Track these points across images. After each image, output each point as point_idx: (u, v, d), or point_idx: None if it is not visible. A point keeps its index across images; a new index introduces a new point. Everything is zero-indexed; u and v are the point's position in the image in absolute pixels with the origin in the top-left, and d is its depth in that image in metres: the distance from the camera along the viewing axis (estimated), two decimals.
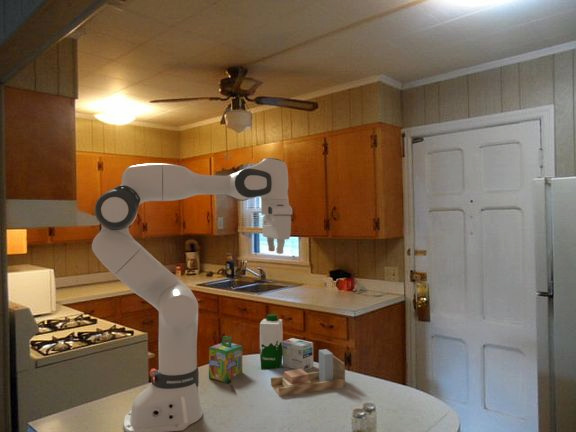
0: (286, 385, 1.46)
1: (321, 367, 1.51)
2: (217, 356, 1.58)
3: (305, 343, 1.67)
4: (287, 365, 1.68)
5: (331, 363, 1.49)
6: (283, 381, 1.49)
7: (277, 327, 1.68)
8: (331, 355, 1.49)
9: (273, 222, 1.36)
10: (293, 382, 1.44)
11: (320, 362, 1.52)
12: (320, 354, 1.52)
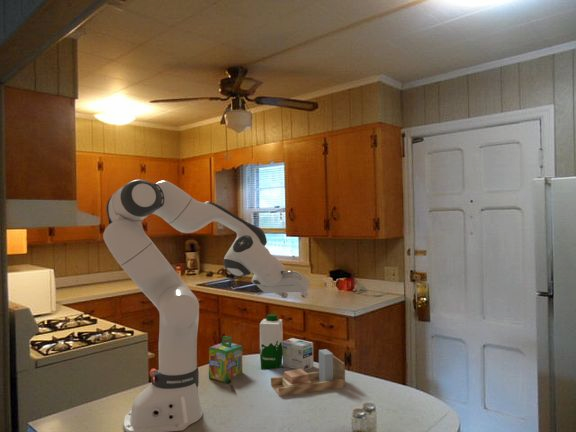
0: (286, 385, 1.46)
1: (321, 367, 1.51)
2: (216, 356, 1.58)
3: (305, 343, 1.67)
4: (287, 365, 1.68)
5: (331, 363, 1.49)
6: (283, 381, 1.49)
7: (277, 327, 1.68)
8: (331, 355, 1.49)
9: None
10: (293, 382, 1.44)
11: (320, 362, 1.52)
12: (320, 354, 1.52)
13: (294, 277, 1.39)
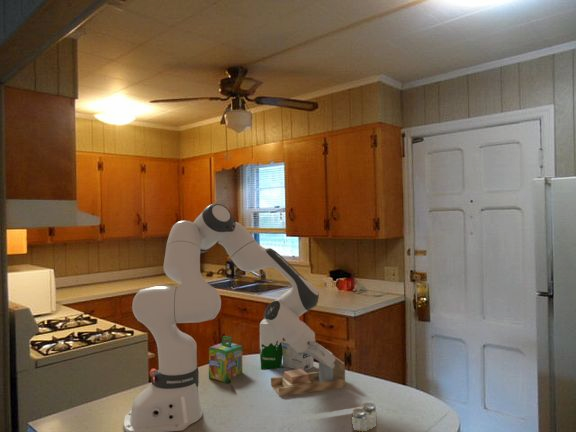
0: (286, 385, 1.46)
1: (321, 367, 1.51)
2: (216, 356, 1.58)
3: None
4: (287, 365, 1.68)
5: None
6: (283, 381, 1.49)
7: None
8: None
9: None
10: (293, 382, 1.44)
11: (320, 362, 1.52)
12: None
13: (317, 352, 1.40)
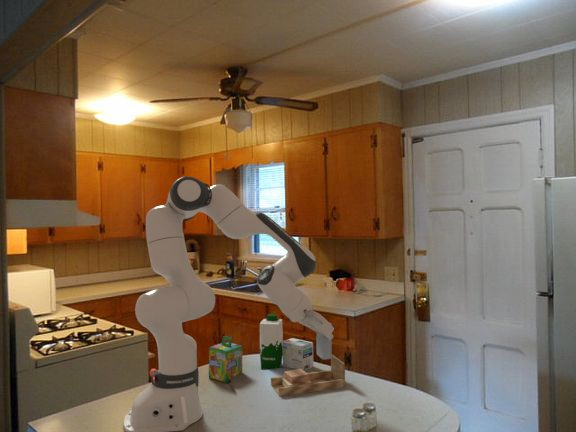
0: (286, 385, 1.46)
1: (319, 339, 1.40)
2: (217, 356, 1.58)
3: (305, 343, 1.67)
4: (287, 365, 1.68)
5: None
6: (283, 381, 1.49)
7: (277, 327, 1.68)
8: None
9: None
10: (293, 382, 1.44)
11: (318, 333, 1.41)
12: None
13: (314, 320, 1.29)
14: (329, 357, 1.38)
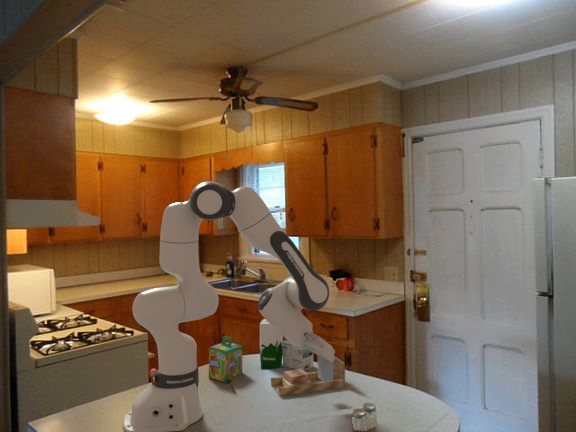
0: (286, 385, 1.46)
1: (320, 361, 1.38)
2: (216, 356, 1.58)
3: None
4: (287, 365, 1.68)
5: None
6: (283, 381, 1.49)
7: None
8: None
9: None
10: (293, 382, 1.44)
11: (319, 356, 1.39)
12: None
13: (315, 344, 1.27)
14: (331, 380, 1.36)
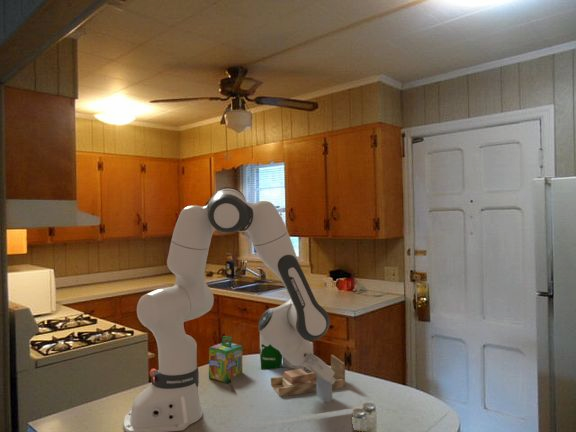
0: (286, 385, 1.46)
1: (319, 384, 1.39)
2: (217, 356, 1.58)
3: None
4: (287, 365, 1.68)
5: None
6: (283, 381, 1.49)
7: None
8: None
9: None
10: (293, 382, 1.44)
11: (318, 379, 1.40)
12: None
13: (314, 365, 1.28)
14: None
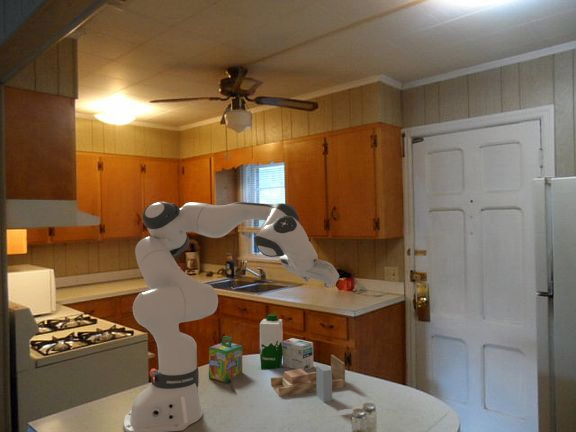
0: (286, 385, 1.46)
1: (319, 384, 1.39)
2: (217, 356, 1.58)
3: (305, 343, 1.67)
4: (287, 365, 1.68)
5: (330, 380, 1.37)
6: (283, 381, 1.49)
7: (277, 327, 1.68)
8: (330, 371, 1.37)
9: None
10: (293, 382, 1.44)
11: (318, 379, 1.40)
12: (318, 370, 1.40)
13: (326, 269, 1.35)
14: None
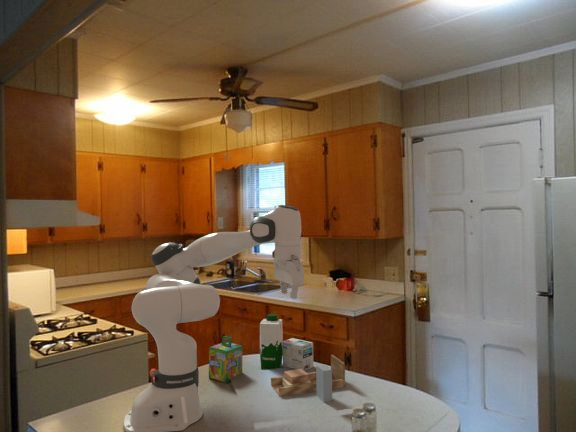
0: (286, 385, 1.46)
1: (319, 384, 1.39)
2: (217, 356, 1.58)
3: (305, 343, 1.67)
4: (287, 365, 1.68)
5: (330, 380, 1.37)
6: (283, 381, 1.49)
7: (277, 327, 1.68)
8: (330, 371, 1.37)
9: None
10: (293, 382, 1.44)
11: (318, 379, 1.40)
12: (318, 370, 1.40)
13: (295, 263, 1.35)
14: None
